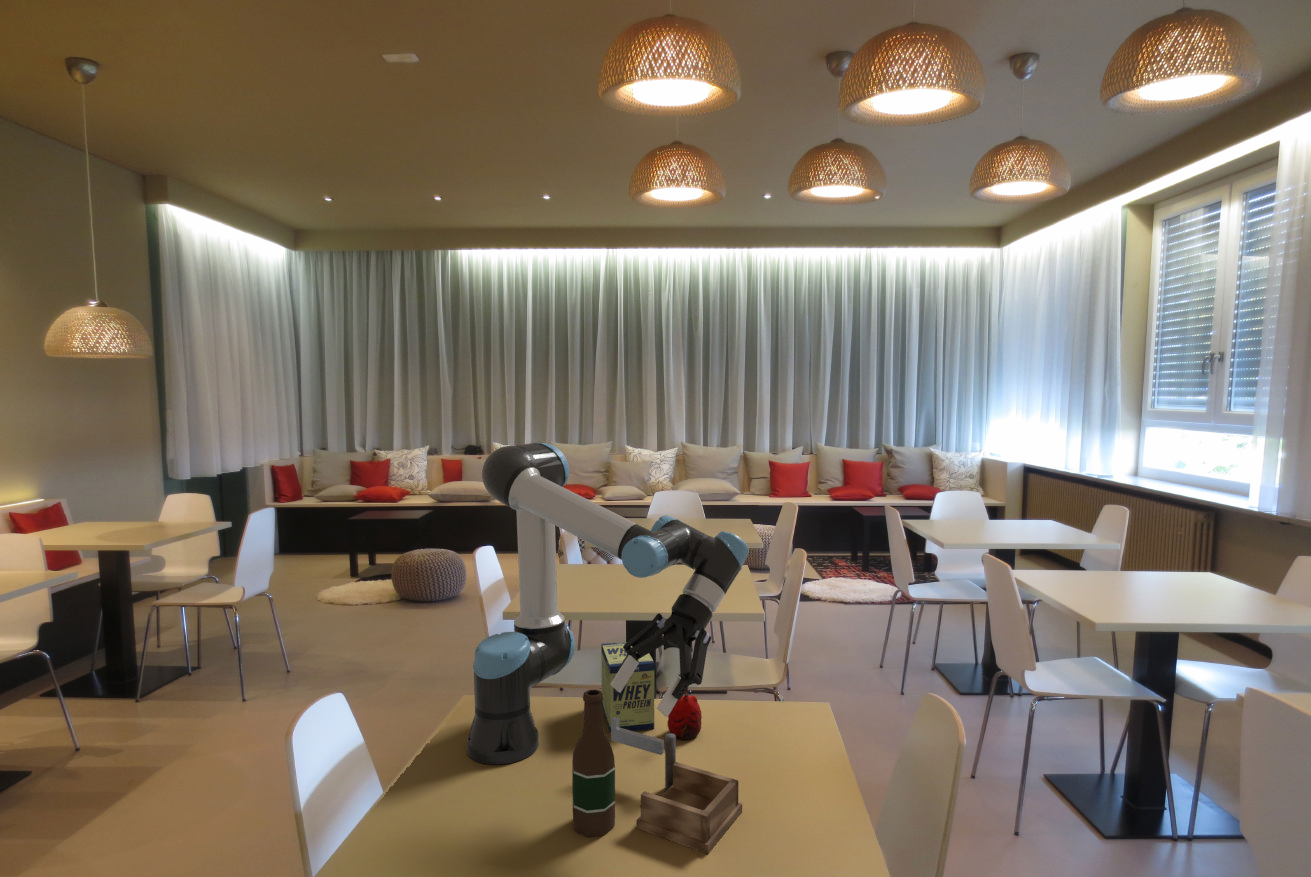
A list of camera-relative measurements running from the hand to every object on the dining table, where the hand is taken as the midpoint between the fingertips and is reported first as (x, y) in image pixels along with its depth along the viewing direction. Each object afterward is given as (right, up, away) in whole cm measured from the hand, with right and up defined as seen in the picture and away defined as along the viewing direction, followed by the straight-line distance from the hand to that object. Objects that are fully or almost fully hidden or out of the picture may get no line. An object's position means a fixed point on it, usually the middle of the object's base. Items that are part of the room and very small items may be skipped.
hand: (637, 700), depth 131 cm
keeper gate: (0, -13, +11) cm, 17 cm away
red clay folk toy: (+10, -19, +30) cm, 36 cm away
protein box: (-3, -18, +38) cm, 43 cm away
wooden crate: (+9, -20, -2) cm, 22 cm away
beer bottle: (-8, -21, -4) cm, 22 cm away
